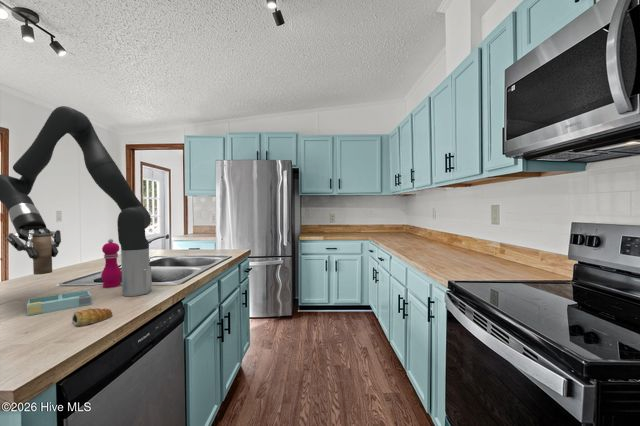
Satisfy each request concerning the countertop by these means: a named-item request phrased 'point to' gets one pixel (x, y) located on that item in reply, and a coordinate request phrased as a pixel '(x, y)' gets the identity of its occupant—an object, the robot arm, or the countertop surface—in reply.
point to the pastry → (90, 316)
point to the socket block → (58, 302)
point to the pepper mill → (111, 265)
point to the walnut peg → (42, 253)
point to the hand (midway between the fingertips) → (45, 256)
